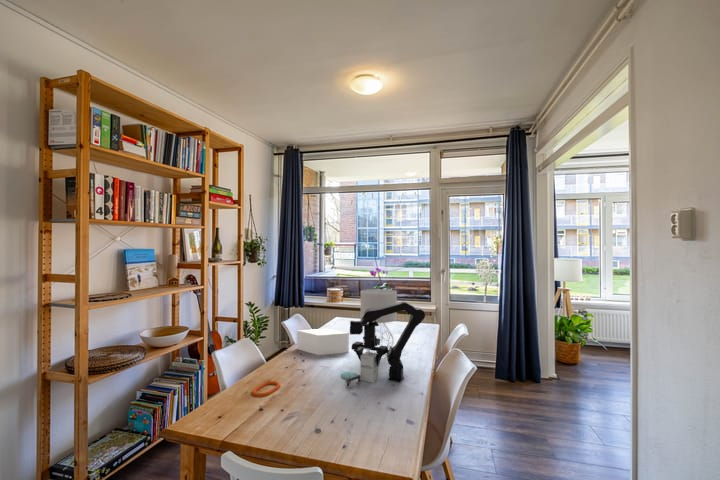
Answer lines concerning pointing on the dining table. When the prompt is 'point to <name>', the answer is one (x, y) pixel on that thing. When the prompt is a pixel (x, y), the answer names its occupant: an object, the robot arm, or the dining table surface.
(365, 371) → the supplement box
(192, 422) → the dining table surface
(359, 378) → the grey cabinet handle
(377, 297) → the table lamp
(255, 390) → the orange oval ring
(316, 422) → the dining table surface
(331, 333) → the block
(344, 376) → the teal round disc
